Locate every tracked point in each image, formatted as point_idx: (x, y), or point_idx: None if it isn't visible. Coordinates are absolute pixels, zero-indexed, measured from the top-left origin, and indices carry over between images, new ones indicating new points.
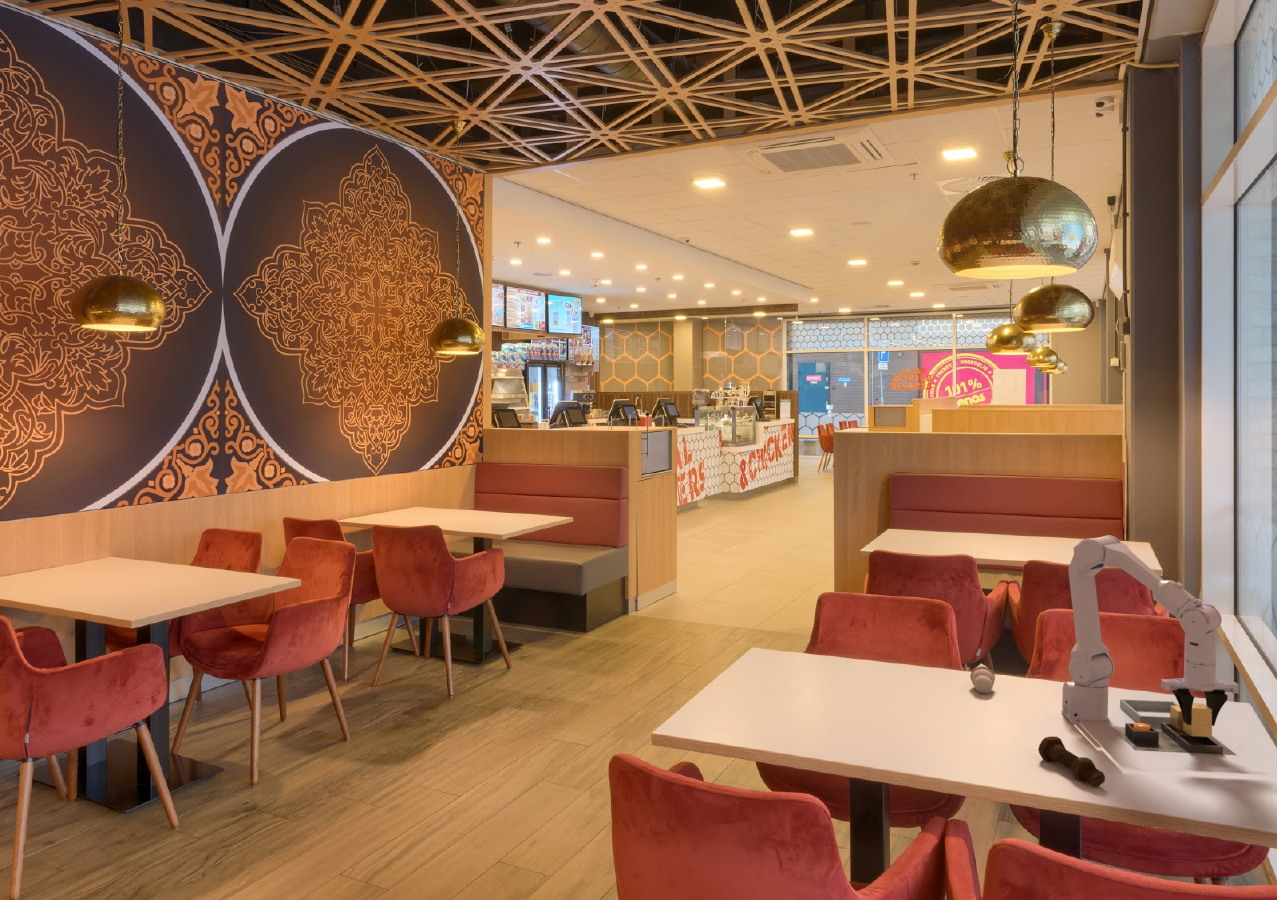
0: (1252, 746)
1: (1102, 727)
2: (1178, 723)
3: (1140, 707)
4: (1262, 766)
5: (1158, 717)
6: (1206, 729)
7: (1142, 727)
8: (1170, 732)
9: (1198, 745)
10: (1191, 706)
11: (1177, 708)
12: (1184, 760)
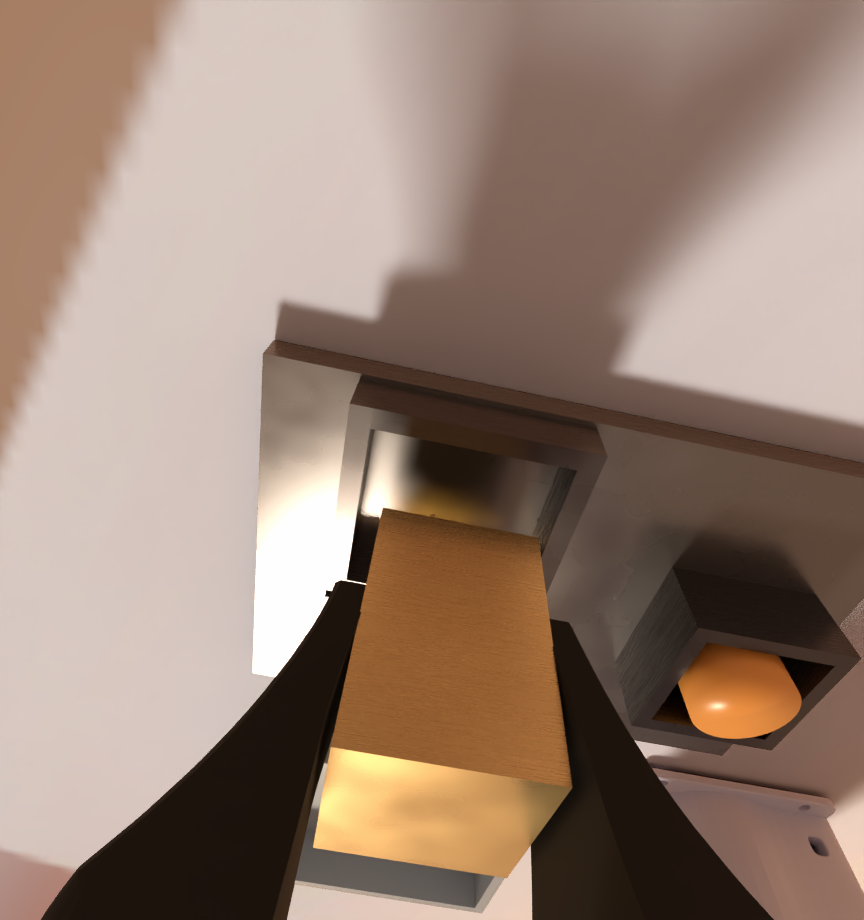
0: (70, 514)
1: (714, 759)
2: None
3: None
4: (145, 195)
5: None
6: (418, 559)
7: (780, 684)
8: None
9: (529, 447)
10: (616, 808)
11: None
12: (673, 357)
